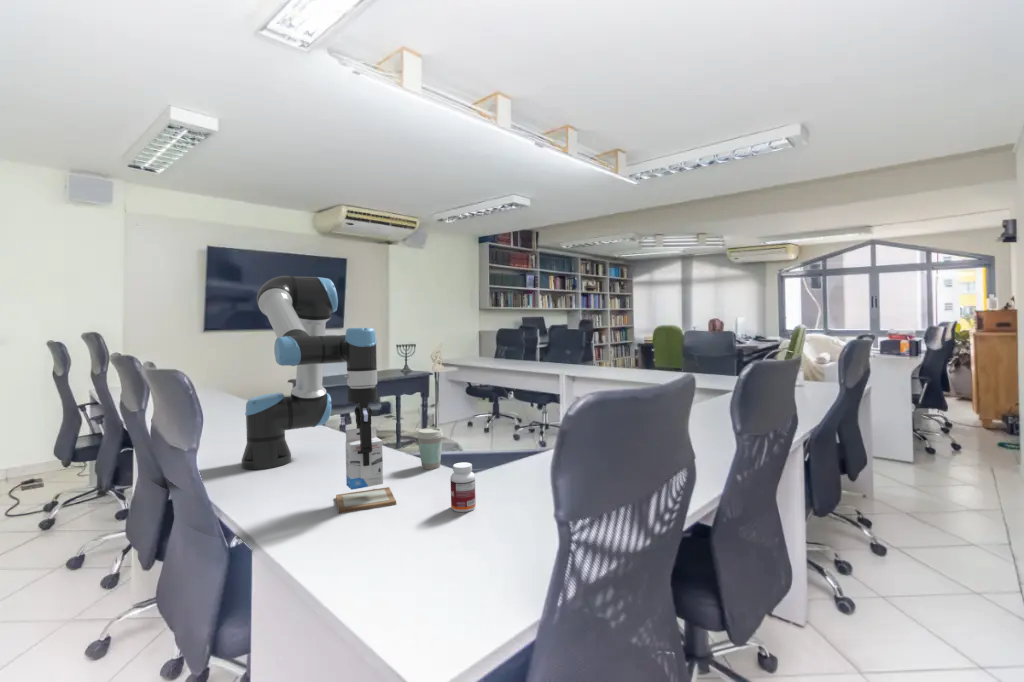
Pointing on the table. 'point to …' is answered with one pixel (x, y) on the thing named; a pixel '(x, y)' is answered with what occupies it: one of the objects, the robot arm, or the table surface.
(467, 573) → the table surface
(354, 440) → the ink box
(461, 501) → the pill bottle
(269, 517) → the table surface
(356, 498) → the board
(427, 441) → the coffee cup
